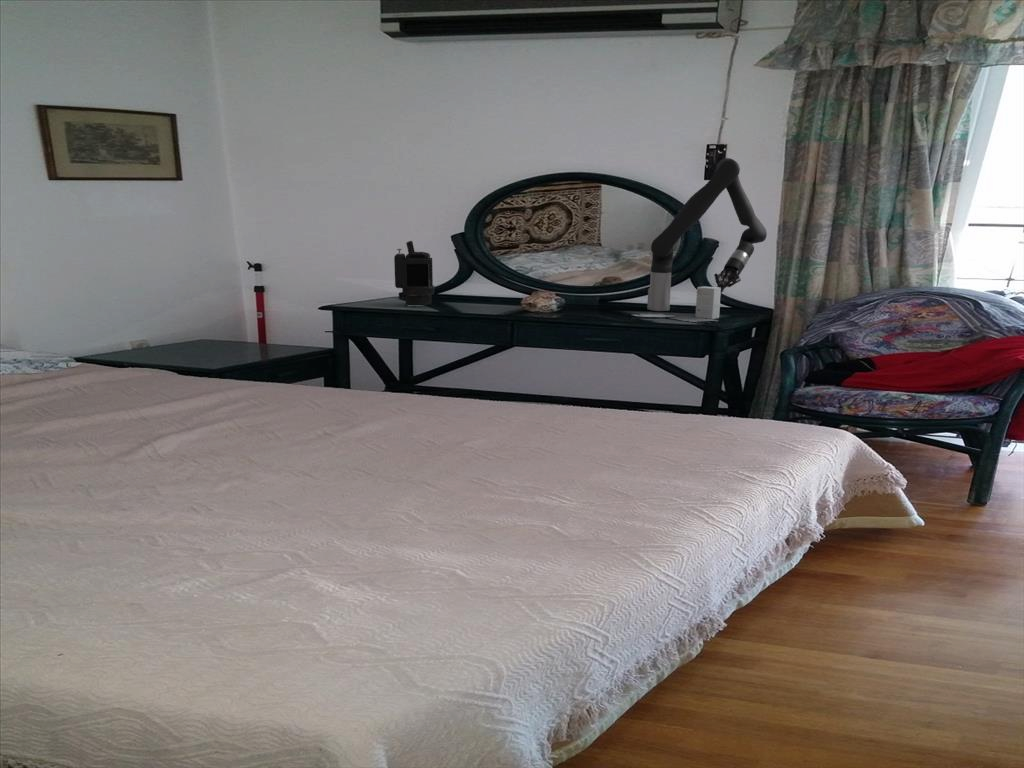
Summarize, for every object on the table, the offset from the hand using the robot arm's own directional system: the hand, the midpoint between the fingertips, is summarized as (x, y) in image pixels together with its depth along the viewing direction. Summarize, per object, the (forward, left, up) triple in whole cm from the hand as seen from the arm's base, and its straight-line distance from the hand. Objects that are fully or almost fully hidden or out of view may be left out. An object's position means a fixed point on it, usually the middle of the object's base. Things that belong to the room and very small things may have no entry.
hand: (717, 292), depth 319 cm
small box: (0, -6, -11) cm, 12 cm away
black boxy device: (-109, -84, -10) cm, 138 cm away
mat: (0, -17, -10) cm, 20 cm away
